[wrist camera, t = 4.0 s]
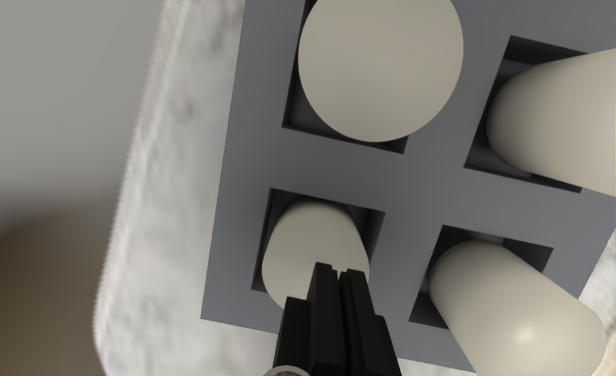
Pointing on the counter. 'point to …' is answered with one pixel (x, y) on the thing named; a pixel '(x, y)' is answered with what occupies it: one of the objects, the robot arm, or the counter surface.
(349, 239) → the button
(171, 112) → the counter surface
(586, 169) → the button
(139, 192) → the counter surface
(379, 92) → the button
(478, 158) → the board
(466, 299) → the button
